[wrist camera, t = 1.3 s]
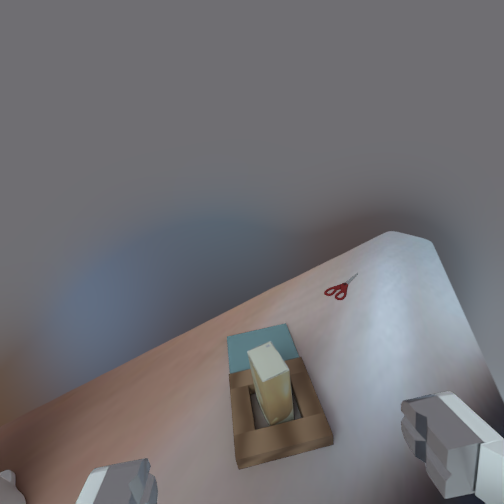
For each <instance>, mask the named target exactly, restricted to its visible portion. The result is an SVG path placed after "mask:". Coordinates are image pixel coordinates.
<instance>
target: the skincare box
mask: <svg viewBox="0 0 504 504" xmlns="http://www.w3.org/2000/svg"><path fill="white" fill-rule="evenodd" d="M247 354H248V358H249V363H250V368H251V372H252V377H253V382H254V387H255V392H256V397H257V401H258V403H259V406H260V408H261V410H262V412H263V415H264V417H265V419H266V421H267V423H268V425H269V426H273V425H277V424H281V423H285V422H288V421H292V420H294V410H293V400H292V390H291V381H290V371H289V368H288V366H287V365H286V363H285V362H284V360H283V359H282V357H281V355H280V354H279V352H278V351H277V350H276V348H275V347H274V345H273V344H272V342H271V341H269V342H267V343H264V344H262V345H260V346H257V347H255V348H253V349H251V350H248V351H247Z"/></svg>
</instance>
